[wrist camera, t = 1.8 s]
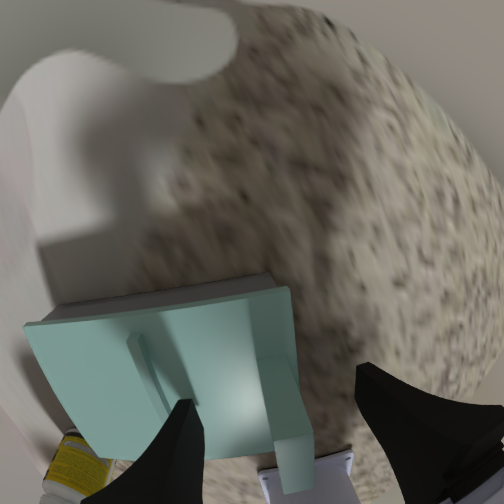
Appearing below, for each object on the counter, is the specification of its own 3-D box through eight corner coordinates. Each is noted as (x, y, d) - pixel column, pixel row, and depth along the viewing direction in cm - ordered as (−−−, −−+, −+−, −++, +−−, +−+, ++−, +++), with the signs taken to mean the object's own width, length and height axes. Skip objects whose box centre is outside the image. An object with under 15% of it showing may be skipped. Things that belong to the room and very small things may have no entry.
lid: (302, 438, 13) (324, 507, 9) (100, 451, 13) (82, 510, 8) (287, 285, 11) (330, 355, 6) (27, 322, 10) (-31, 374, 6)
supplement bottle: (59, 419, 15) (21, 495, 7) (112, 435, 16) (85, 523, 8) (74, 453, 16) (48, 521, 8) (122, 467, 17) (104, 543, 9)
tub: (286, 403, 16) (296, 436, 13) (113, 419, 16) (102, 449, 13) (268, 271, 14) (280, 294, 11) (59, 304, 13) (33, 327, 10)
